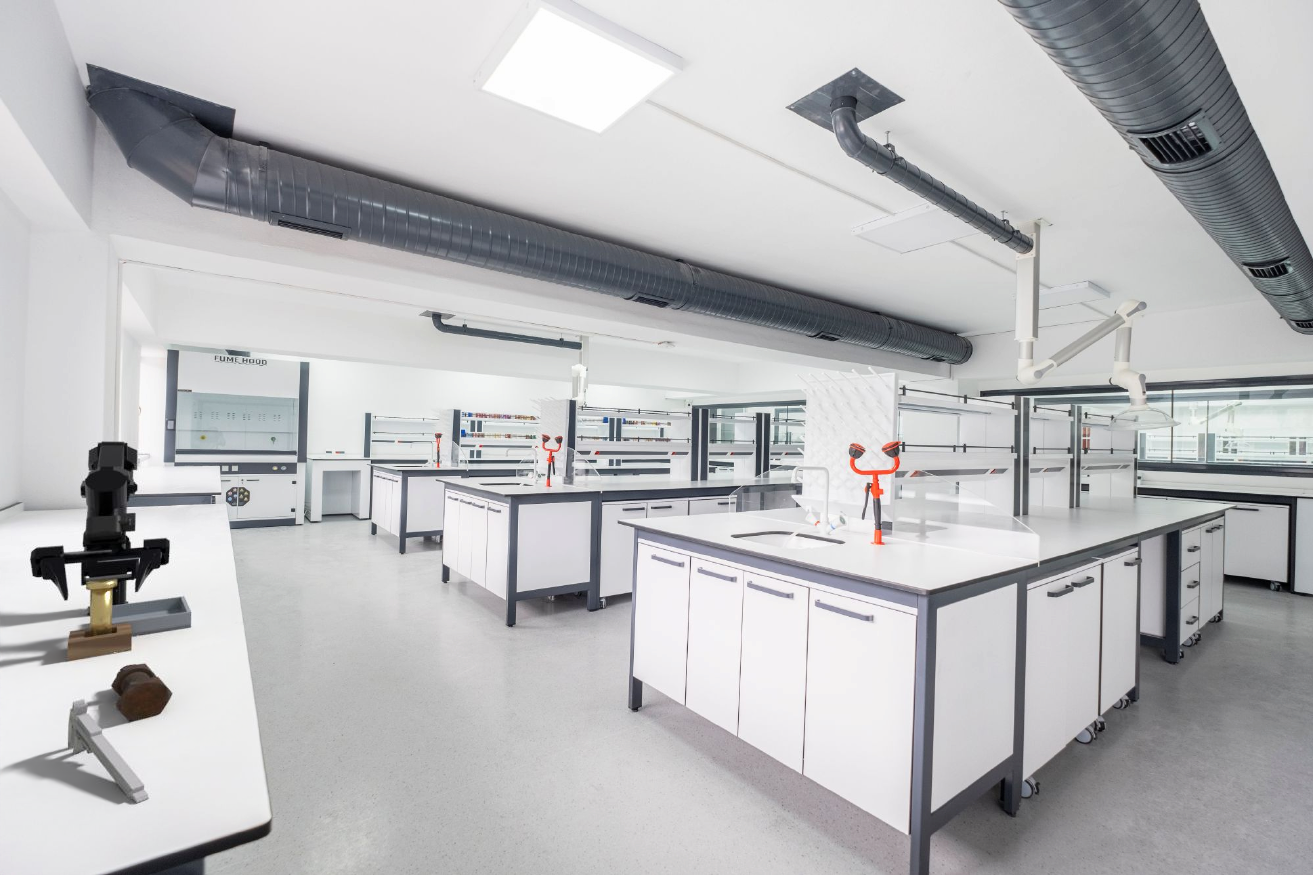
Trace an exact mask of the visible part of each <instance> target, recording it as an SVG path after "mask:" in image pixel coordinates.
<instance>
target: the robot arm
mask: <svg viewBox="0 0 1313 875" xmlns="http://www.w3.org/2000/svg"><path fill="white" fill-rule="evenodd" d="M87 459H88V461H87V467H88V471H89V472H88V474H87V477H86V478H85V479H84V480H82V482H81V484H80V496H81V498H82V499H85V504H86V505H87V511H86V518H85V519H86V520H85V531H84V532H83V533H82V548H83V550H78V551H68V552H65V548H64V545H63V544H62V545H52V546H51V545H50V546H37V547H35V548H34V549H33V550H31V552H30V558H29V561H30V567H31V575H32V577H34V578H41V579H42V580H44V581H48V580H49V581H51V582H52V583H53V584H54V585H55V587H57V589H58V591H59V593H60V594H61V596H62V599H63V600H64V601H68V600H69V587H68V586H69V585H68V580H67V573H66V571H67V570H66V565H72V564H80V586H86V583H87V582H90V581H94V580H101V579H117V586H116V587H112V606H114V605H121V604H129V600H128V601H127V581H135V582H134V584H135V585H134V593H139V591H140V589H141V588H142V586H143V585H144V582H145V581H146V579H147V578H148V577H149V575H150V574H151V573H152V572H153V571H154V570H158V569H160V568H161V566H166V565H168V564H169V563H170V551H171V546H170V545H171V541H170V540H169V539H168V537H160V538H158V537H157V538H146V539H145V538H144V539H143V540H142V541H143V542H142V543H143V545H142V547H140V546H139V547H132V543H131V541H130V537H129V536H128V535H127V533H129V532H136V521H137V520H136V515H137V513H136V512H128V506H127V505H128V504H126V503H128V502H129V501H130V497H134V495H136V492H138V486H139V485H138V484H137V483H136V482H135V480H134V471H138V450H137V449H135V448H133V447H132V446H129V445H128V442H124V441H107V440H106V441H100V442H97V446H95V447H93V448H90V449H89V450H88V458H87ZM89 591H90V592H89V594H90V595H89V602H90V601H91V590H89ZM86 615H87V616H90V605H88V606H87V610H86Z"/></svg>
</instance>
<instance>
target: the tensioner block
mask: <svg viewBox="0 0 1313 875" xmlns="http://www.w3.org/2000/svg"><path fill="white" fill-rule="evenodd" d="M132 642H133V638H132V631H131V622H129V623H122V624H116V625H112V634H106V635H100V636H93V637H90V627H89V628H84V629H77V630H70V631H69V634H68V641H67V653H66V654H67V657H66V658H67V662H71V661H78V660H84V659H88V658H93V657H99V656H106V654H107V655H112V654H111V653H113V654H115V653H114V652H118V653H122V652H121V651H124V652H126V651H125V650H130V649H131V650H132V647H133V646H132V645H133V644H132ZM131 650H130V651H131Z"/></svg>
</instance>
